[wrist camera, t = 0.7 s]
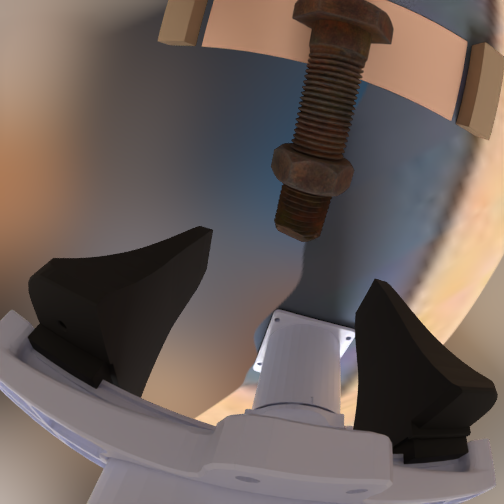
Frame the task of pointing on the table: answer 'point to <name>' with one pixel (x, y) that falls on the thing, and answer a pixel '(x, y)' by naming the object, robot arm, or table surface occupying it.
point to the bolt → (325, 110)
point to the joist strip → (379, 60)
